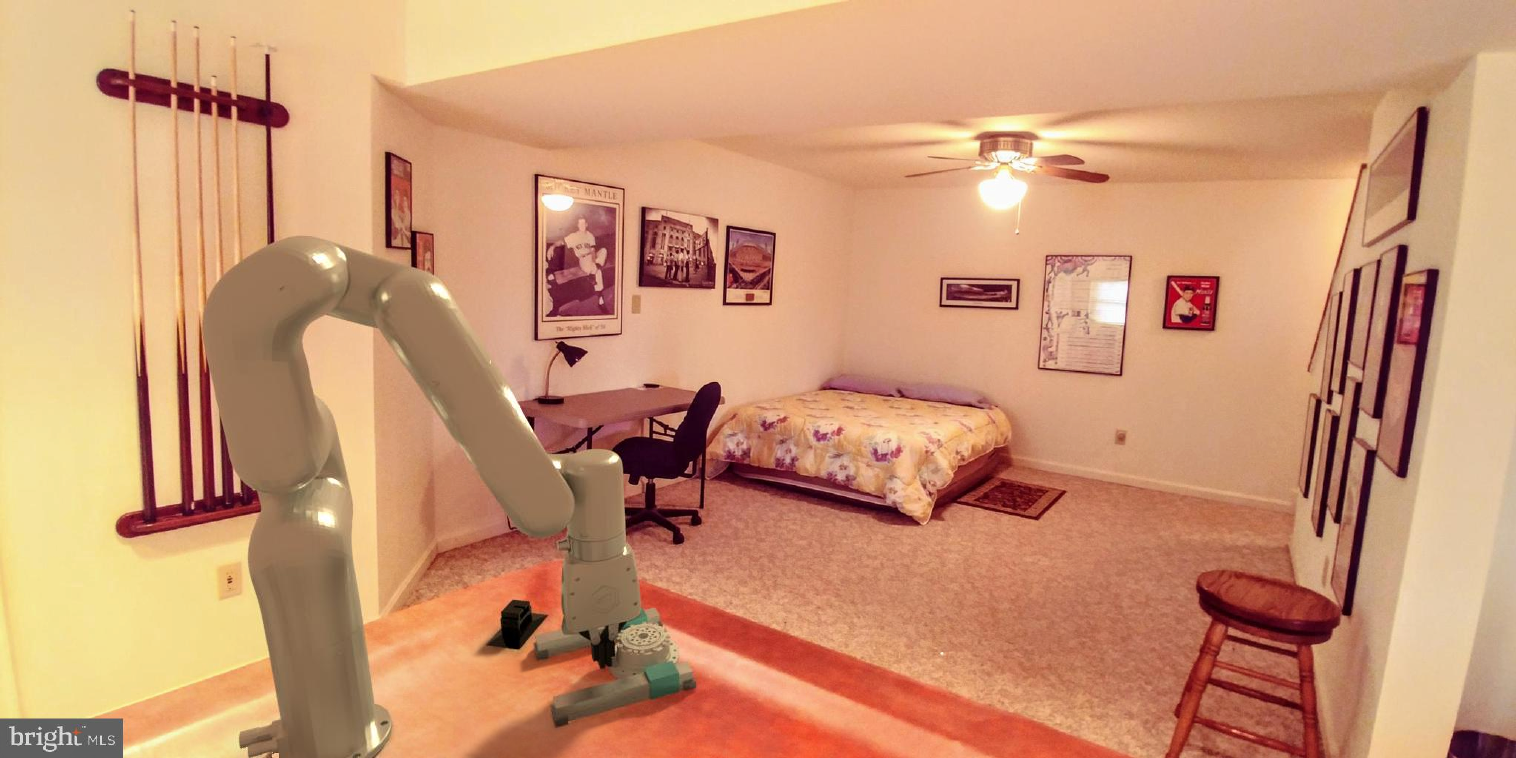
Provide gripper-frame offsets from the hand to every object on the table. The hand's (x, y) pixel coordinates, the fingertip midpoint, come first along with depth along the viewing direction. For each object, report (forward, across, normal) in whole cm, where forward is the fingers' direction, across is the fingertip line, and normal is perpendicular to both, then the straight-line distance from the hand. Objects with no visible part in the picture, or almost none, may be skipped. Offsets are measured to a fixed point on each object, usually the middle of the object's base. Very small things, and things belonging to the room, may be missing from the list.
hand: (603, 662), depth 102 cm
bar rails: (+1, +1, 0) cm, 2 cm away
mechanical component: (+2, +6, 0) cm, 6 cm away
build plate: (+2, -10, +15) cm, 18 cm away
